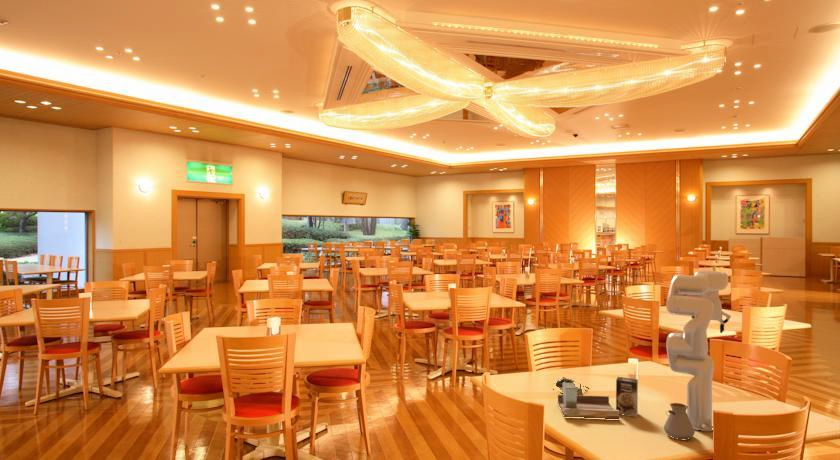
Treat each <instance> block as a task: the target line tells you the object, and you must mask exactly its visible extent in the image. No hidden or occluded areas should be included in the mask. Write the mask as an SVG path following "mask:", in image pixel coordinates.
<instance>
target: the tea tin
mask: <svg viewBox="0 0 840 460" xmlns="http://www.w3.org/2000/svg"><path fill="white" fill-rule="evenodd" d="M562 384H563V394H562V395H563V406H564V408H574V409H577V388H576V386H575V385H574V383H562Z"/></svg>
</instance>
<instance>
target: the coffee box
mask: <svg viewBox="0 0 840 460" xmlns="http://www.w3.org/2000/svg"><path fill="white" fill-rule="evenodd" d="M638 381H639V379H635V378H629V377H621V376H617V378H616V381H615V382H616V383H615V385H616V386H615V388H616V389H615V410H619V414H624V415H630V416H634V417H633V418H638V414H637V413H638V406H639V405H638V397H639V396H638V392H639V390H638V389H639V386H638V383H639V382H638ZM624 415H623V416H624ZM630 416H629V417H630Z"/></svg>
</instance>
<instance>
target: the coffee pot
mask: <svg viewBox="0 0 840 460" xmlns="http://www.w3.org/2000/svg"><path fill="white" fill-rule="evenodd" d="M669 407H671V410H670V409H669V410H666V411H665V415H666V416H668V417H667V419H666V421H665V423H664V426H663V430H664V432H665V433H666V434H667V435H668V436H669V435H670V436H672V437H674V438H678V439H688V438H690V439H691V438H692V437H693V436H694V435H695V433H696V430H694V429H693V426H692V424H691V422H690V420H689V418H688V415H687V408H688V407H687V404H683V403H679V402H673V403H669ZM667 412H668V413H669V414H667ZM670 436H669V437H670ZM672 437H671V438H672ZM674 438H673V439H674ZM678 439H677V440H678ZM688 440H689V439H688Z"/></svg>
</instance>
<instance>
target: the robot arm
mask: <svg viewBox="0 0 840 460" xmlns="http://www.w3.org/2000/svg"><path fill="white" fill-rule="evenodd" d="M729 279H730V278H729V276H728V273H726V272H725V271H716V270H699V271H696V272H694V274H693V275H688V274H687V275H685V274H676V275H674V276H673V278H672V279H671V281H670V284H669V289H668V293H667V297H666V303H665V308H666V310H667V312H668V313H669V314H672V315H675V316H676V315H677V316H685V317H687V316H689V317H691V319H690V320H689V321H688V322H687V323H685V325H684V326H683V330H682V331H683V333H682V332H670V333H669V334H668V335H667V337H666V342H665V344H666V345H665V346H666V354H667V359H668V360H667V361H668V365H669V368H670V370H671V371H672V372H675V373H679V374H684V375H685V374H686V375H691V376H692V377H691V378H690V380H688V382H687V385H686V406H687V407H688V408H687V409H686V413H687V415H688V418H689V420H690V422H691V424H692V426H693V429H694V431H698V430H701V431H700V432H713V431H712V428H713V426H712V423H713V375H714V370H715V361H714V359H713V358H712V357H711V356H710V355H708V352H709V341H708V334H707V331H708V327H709V325H710V323H711V321H717V322H719V323H720V324H719V333H721V334H722V333H723V332H725V324H727V323H728V322H729V320H730V319H731V317H732V316H731V314H728V313H726V312H724V311H723V308H722V302H721V299H720V296H719V295H720V292H719V291H723V290H725V289H726V288H727V286H728V285H729V282H730V280H729ZM723 316H724V317H726V318H725V319H723Z"/></svg>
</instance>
